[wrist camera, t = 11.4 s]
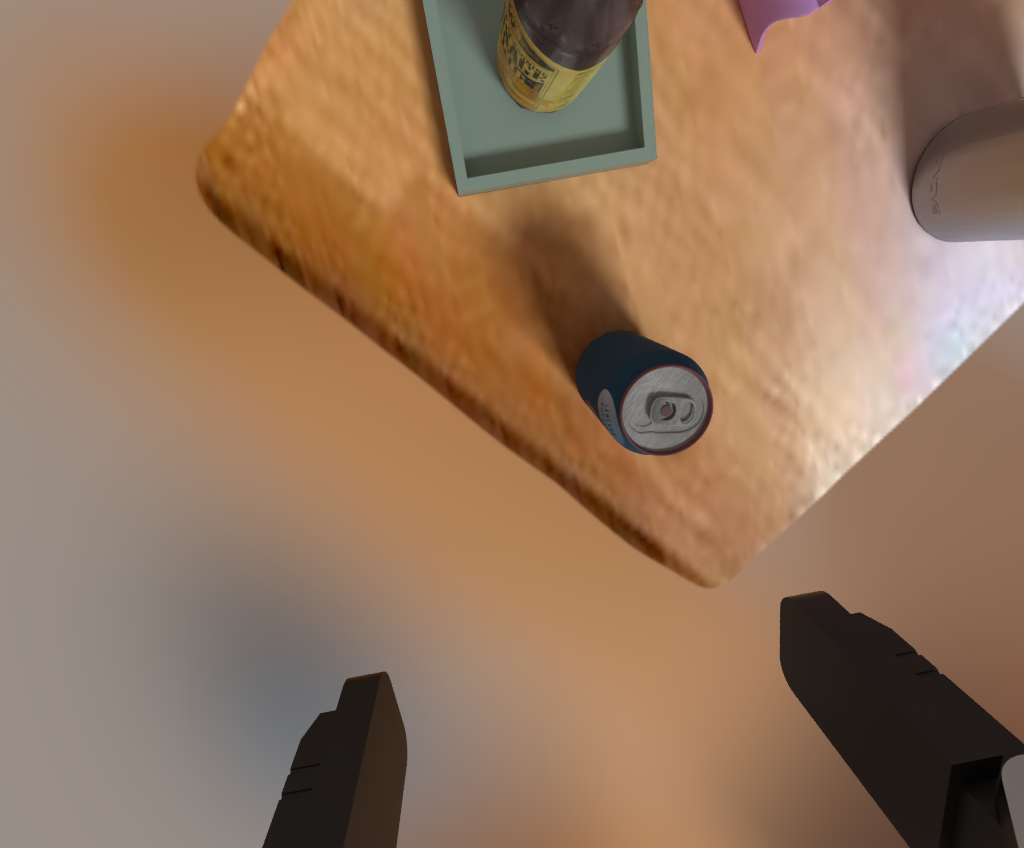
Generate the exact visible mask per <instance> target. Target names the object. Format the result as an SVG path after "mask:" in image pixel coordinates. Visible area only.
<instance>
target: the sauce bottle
mask: <svg viewBox="0 0 1024 848" xmlns="http://www.w3.org/2000/svg"><path fill="white" fill-rule="evenodd" d="M642 4H643V0H505V3H504V10H503V14H502V20H501V27H500V33H499V39H498V45H497V63H498V69H499V75H500V79H501V81H502V83H503V85H504V87H505V89H506V90H507V92H508V94H509V95H510V97H511V98H512V99H513V100H514V101H515V103H516V104H517V105H518V106H519V107H520V108H522V109H527V110H529V111H532V112H535V113H553V112H556V111H558V110H559V109H562V108H564V107H566V106H567V105H569V104H570V103H572V102H573V101H574V100H575V99H576V98H577V96H578V95H579V94H580V93H581V91H582V90H583V89H584V88H585V86H586V85H587V84H588V83H589V81H590V80H591V79H592V78H593V77H594V75H595V74H596V73H597V72H598V70H599V69H600V68H601V66H602V65H603V64H604V62H605V61H606V60H607V59H608V57H609V56H610V55H611V53H612V52H613V51H614V50H615V48H616V47H617V46H618V44H619V42H620V41H621V39H622V37H623V35H624V34H625V33H626V32H627V30H628V29H629V27H630V26H631V24H632V23H633V21H634V19H635V18H636V16H637V13H638V11H639V9H640V8H641V6H642Z"/></svg>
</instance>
